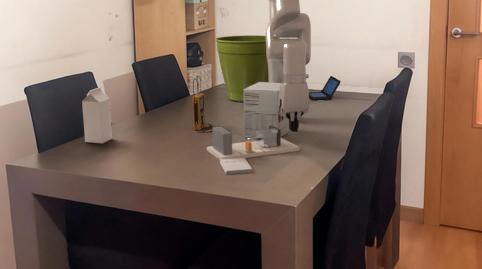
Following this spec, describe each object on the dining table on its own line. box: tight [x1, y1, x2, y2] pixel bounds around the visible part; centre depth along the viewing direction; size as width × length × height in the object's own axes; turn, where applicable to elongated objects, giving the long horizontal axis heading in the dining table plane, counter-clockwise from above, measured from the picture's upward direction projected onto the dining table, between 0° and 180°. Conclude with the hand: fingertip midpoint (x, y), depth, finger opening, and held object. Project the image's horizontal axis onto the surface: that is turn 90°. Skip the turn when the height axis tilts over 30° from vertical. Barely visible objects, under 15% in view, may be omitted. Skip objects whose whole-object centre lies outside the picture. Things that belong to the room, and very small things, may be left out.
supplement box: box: [243, 82, 291, 139], centre depth 232 cm, size 17×13×18 cm
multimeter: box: [191, 75, 214, 134], centre depth 242 cm, size 15×10×20 cm
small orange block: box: [244, 140, 252, 152], centre depth 206 cm, size 1×3×3 cm, turn 23°
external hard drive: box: [219, 158, 254, 175], centre depth 195 cm, size 2×8×12 cm
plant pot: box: [215, 34, 281, 103], centre depth 297 cm, size 30×30×29 cm
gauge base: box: [206, 126, 301, 161], centre depth 212 cm, size 28×14×8 cm, turn 113°
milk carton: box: [81, 86, 113, 144], centre depth 226 cm, size 7×7×19 cm
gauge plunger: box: [246, 125, 282, 148], centre depth 212 cm, size 10×10×6 cm
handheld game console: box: [309, 75, 341, 102], centre depth 300 cm, size 16×13×9 cm
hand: (293, 131), depth 218 cm, fingers closed
